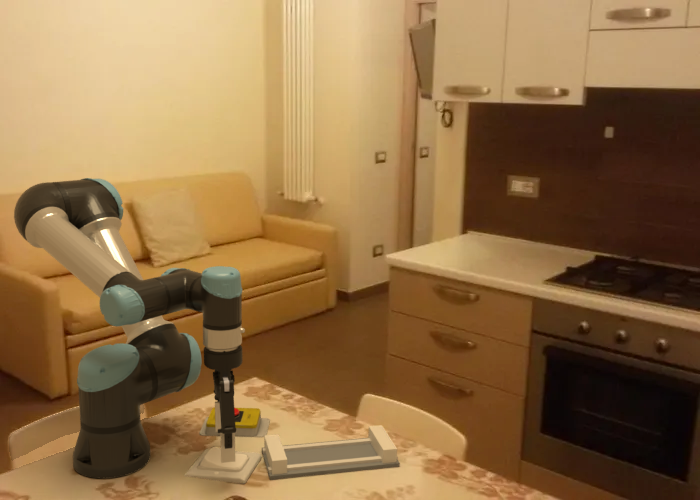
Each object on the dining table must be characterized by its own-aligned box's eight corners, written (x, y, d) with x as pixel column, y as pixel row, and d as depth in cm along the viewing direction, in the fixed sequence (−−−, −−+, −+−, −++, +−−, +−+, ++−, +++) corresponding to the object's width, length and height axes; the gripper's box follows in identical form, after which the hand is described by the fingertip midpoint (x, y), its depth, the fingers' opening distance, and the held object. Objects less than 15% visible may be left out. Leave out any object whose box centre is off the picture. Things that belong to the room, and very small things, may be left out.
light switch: (203, 438, 158) (261, 442, 155) (204, 456, 159) (262, 460, 156) (182, 463, 147) (243, 467, 145) (183, 482, 148) (245, 487, 146)
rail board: (269, 479, 147) (270, 462, 146) (261, 450, 159) (261, 434, 158) (399, 466, 154) (400, 449, 153) (382, 439, 165) (383, 423, 165)
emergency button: (206, 401, 173) (270, 403, 173) (206, 418, 174) (270, 420, 174) (198, 419, 164) (266, 421, 164) (198, 437, 165) (266, 439, 165)
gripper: (249, 366, 135) (251, 473, 140) (235, 325, 159) (237, 417, 163) (207, 369, 133) (210, 478, 138) (199, 327, 157) (202, 420, 161)
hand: (225, 445), depth 150 cm, fingers open, 13 cm apart
